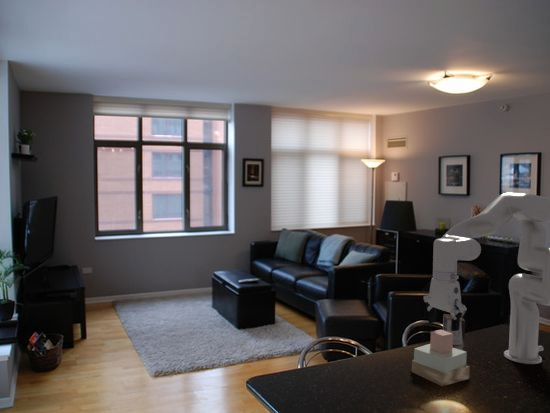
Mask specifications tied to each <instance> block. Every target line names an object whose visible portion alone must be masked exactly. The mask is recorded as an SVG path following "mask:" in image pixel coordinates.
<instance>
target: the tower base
mask: <svg viewBox="0 0 550 413" xmlns="http://www.w3.org/2000/svg"><path fill="white" fill-rule="evenodd" d="M470 369H471V368H470V366H469V365H467V364H466V365H465V366H463V367H460V368H458V369H455V370H452V371H450V372H447V373H443V372H440V371H438V370H435V369H432V368H430V367H427V366H424V365H422V364H419V363H416V362H414V359H412V360H411V373H413V374H415V375H416V376H417V375H418V376H420V377H422V378H424V379H426V380H427V381H430V382H432V383H434V384H436V385H439V386H440V387H443V386H448V385H451V384H456V383H459V382H461V381H463V382H464V381H466V380H470Z"/></svg>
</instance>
